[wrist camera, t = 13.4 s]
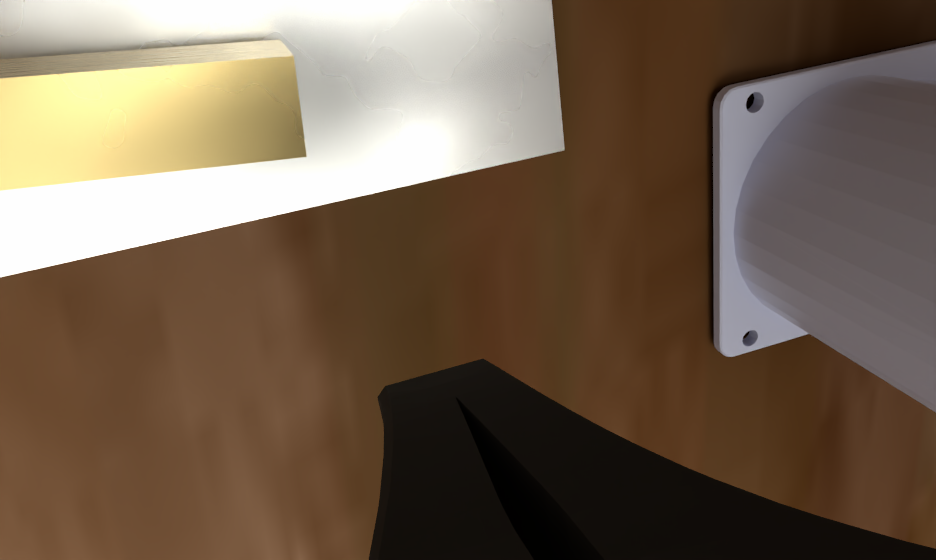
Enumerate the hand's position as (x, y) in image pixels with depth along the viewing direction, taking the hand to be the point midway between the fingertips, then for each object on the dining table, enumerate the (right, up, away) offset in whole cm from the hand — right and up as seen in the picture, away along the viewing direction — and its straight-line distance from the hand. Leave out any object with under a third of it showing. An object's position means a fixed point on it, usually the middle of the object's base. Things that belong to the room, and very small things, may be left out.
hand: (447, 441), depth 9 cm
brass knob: (-7, +6, +5) cm, 11 cm away
